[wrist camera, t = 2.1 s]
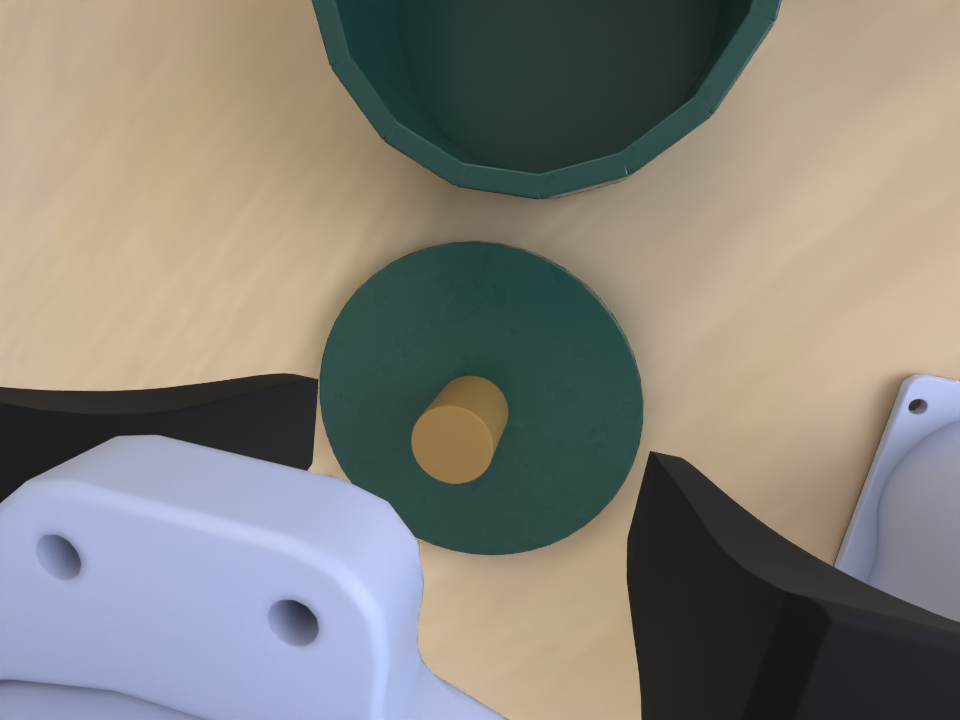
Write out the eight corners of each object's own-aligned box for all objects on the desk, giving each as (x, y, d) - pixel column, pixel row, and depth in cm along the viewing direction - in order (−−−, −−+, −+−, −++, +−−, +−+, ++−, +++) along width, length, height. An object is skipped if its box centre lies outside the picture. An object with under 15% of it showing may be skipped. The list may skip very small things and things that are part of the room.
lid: (604, 570, 23) (604, 650, 19) (321, 502, 25) (267, 562, 21) (676, 270, 20) (696, 290, 16) (342, 215, 21) (282, 220, 17)
